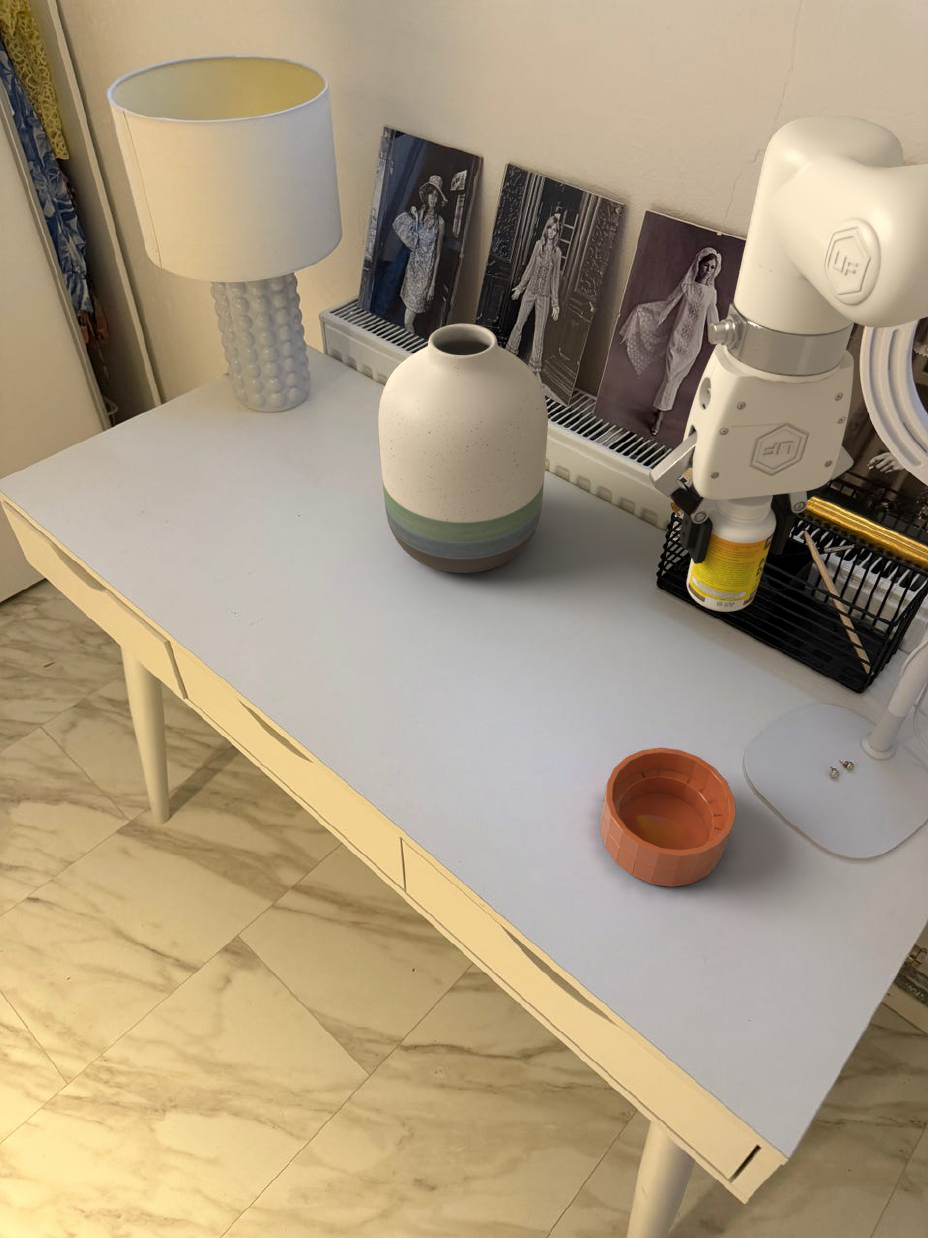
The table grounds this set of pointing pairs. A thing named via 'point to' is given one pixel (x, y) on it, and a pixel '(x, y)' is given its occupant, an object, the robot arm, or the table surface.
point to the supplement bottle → (733, 554)
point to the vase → (463, 451)
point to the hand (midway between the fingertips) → (731, 545)
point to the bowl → (666, 816)
